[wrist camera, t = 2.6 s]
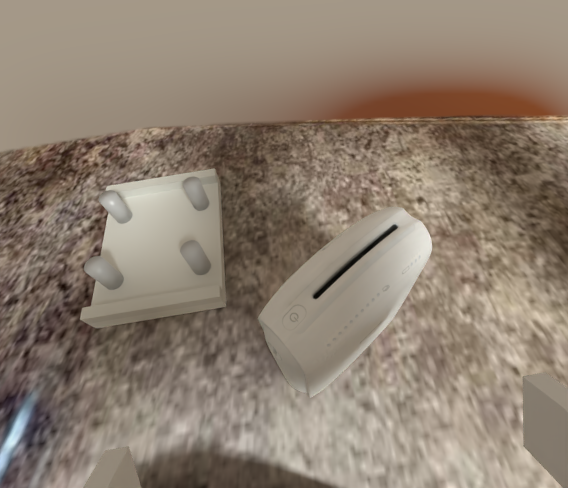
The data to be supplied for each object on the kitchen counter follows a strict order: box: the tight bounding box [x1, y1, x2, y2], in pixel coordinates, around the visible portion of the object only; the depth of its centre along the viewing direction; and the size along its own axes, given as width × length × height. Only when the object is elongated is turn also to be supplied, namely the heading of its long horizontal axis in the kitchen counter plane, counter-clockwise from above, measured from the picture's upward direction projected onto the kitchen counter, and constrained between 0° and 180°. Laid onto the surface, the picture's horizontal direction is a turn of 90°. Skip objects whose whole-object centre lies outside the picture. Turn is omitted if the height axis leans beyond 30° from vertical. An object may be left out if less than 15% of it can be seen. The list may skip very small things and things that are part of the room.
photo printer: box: [258, 207, 432, 397], centre depth 20 cm, size 10×4×12 cm, turn 131°
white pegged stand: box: [80, 168, 226, 328], centre depth 29 cm, size 14×11×4 cm
